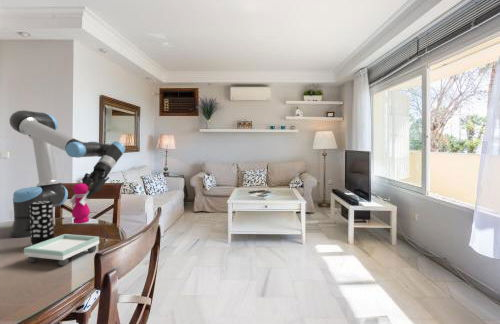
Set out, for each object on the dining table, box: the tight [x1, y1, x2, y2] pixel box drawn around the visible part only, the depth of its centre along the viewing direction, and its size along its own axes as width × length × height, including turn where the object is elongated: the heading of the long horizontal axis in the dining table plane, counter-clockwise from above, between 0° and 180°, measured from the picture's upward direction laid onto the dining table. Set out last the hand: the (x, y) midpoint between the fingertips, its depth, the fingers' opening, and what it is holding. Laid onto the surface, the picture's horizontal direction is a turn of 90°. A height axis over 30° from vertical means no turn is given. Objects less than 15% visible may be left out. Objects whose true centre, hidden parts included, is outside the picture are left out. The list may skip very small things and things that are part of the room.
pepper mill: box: [71, 179, 91, 224], centre depth 130 cm, size 7×7×20 cm
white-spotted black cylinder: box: [30, 201, 55, 246], centre depth 124 cm, size 8×8×20 cm
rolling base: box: [23, 233, 100, 267], centre depth 112 cm, size 18×18×6 cm
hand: (76, 203), depth 128 cm, fingers closed on pepper mill, 5 cm apart
